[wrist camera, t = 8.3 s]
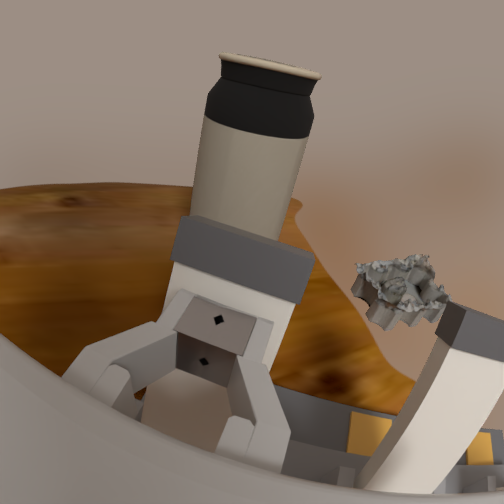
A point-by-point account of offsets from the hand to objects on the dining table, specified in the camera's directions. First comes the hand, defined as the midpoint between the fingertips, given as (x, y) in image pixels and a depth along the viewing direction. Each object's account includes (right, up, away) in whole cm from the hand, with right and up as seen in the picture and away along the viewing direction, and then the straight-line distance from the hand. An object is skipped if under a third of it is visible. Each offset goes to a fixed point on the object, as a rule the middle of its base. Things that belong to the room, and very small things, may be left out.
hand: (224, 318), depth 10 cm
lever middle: (+7, -10, +1) cm, 12 cm away
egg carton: (+16, -3, +21) cm, 26 cm away
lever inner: (-2, -7, +2) cm, 8 cm away
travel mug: (-2, +1, +21) cm, 21 cm away
